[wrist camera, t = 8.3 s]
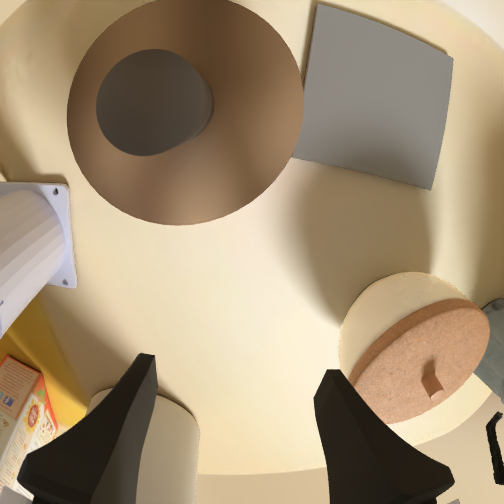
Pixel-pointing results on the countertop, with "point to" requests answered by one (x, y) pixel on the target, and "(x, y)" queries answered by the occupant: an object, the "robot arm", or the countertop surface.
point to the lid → (185, 110)
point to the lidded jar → (410, 344)
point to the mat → (373, 99)
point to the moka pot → (494, 377)
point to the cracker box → (22, 419)
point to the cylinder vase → (166, 454)
